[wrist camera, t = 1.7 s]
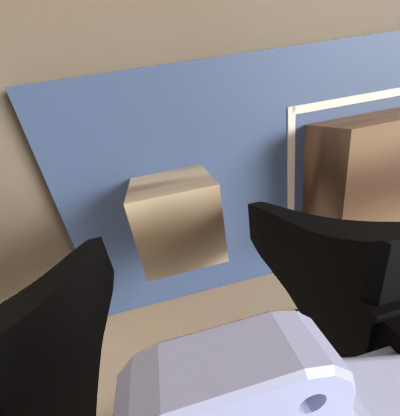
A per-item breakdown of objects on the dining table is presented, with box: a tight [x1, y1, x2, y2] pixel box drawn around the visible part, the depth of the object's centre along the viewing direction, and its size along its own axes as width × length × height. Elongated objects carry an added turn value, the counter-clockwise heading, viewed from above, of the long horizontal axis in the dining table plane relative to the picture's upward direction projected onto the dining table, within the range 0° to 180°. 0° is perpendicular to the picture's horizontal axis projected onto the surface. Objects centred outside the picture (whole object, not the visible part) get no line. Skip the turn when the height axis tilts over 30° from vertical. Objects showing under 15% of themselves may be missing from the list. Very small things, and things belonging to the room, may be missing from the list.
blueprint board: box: [5, 30, 400, 315], centre depth 17 cm, size 16×28×1 cm, turn 99°
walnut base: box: [303, 107, 400, 222], centre depth 16 cm, size 7×7×4 cm
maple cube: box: [123, 164, 229, 282], centre depth 14 cm, size 4×4×4 cm
